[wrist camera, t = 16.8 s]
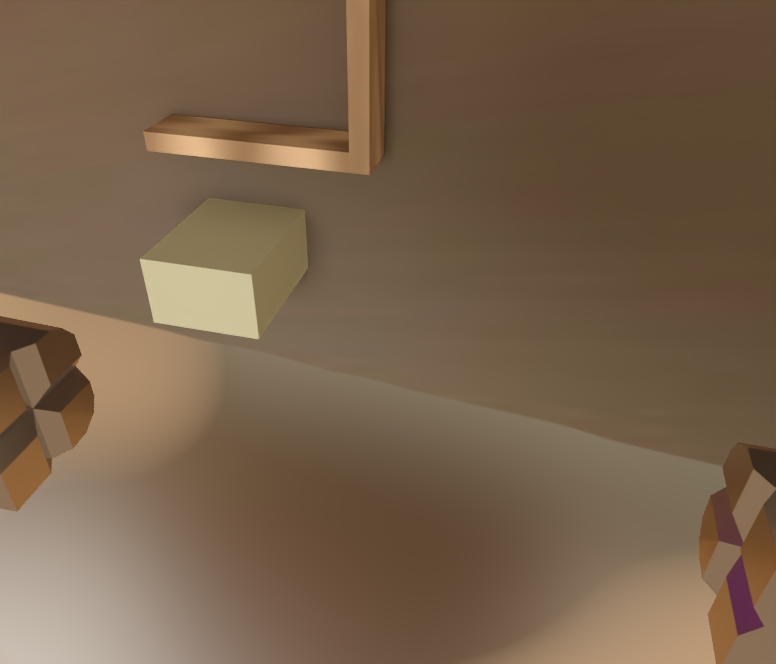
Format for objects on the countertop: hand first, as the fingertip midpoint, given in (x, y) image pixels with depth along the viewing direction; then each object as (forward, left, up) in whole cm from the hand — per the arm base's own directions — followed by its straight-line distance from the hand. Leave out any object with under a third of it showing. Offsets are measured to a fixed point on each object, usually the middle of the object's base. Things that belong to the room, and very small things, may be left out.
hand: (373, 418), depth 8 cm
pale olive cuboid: (+12, +20, -33) cm, 41 cm away
